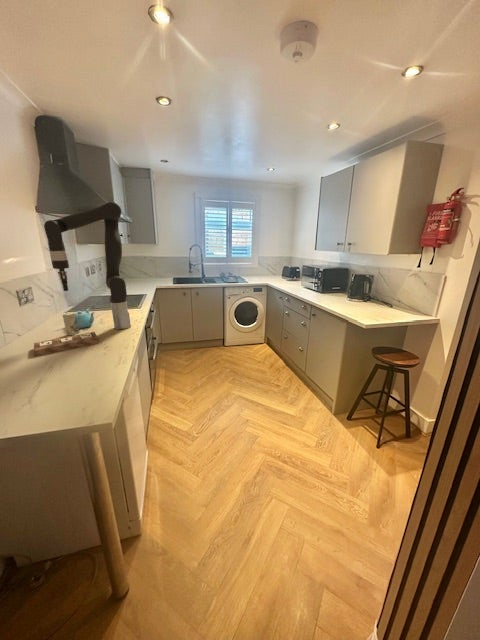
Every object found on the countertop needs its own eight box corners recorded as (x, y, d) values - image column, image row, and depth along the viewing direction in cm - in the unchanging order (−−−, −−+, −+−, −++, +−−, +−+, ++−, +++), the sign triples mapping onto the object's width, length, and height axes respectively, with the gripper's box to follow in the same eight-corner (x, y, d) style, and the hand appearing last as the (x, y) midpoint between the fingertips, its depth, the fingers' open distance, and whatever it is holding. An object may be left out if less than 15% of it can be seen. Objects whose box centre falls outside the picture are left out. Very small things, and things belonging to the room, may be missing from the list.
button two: (53, 346, 135) (51, 340, 134) (53, 349, 131) (51, 342, 130) (41, 348, 132) (39, 342, 131) (41, 352, 128) (39, 345, 127)
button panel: (95, 336, 149) (94, 331, 148) (98, 342, 140) (97, 337, 139) (35, 348, 133) (34, 343, 132) (35, 356, 124) (33, 350, 123)
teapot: (71, 331, 157) (68, 316, 154) (66, 326, 168) (63, 311, 164) (97, 326, 167) (94, 311, 164) (91, 321, 177) (88, 307, 174)
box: (72, 335, 150) (68, 315, 147) (66, 335, 151) (61, 314, 147) (79, 332, 155) (75, 312, 152) (73, 332, 156) (69, 312, 152)
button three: (91, 339, 145) (90, 332, 144) (92, 341, 141) (91, 335, 140) (81, 341, 142) (79, 334, 141) (82, 343, 138) (81, 337, 137)
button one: (72, 342, 140) (71, 336, 139) (73, 345, 136) (72, 339, 135) (62, 345, 137) (60, 338, 136) (62, 348, 133) (61, 341, 132)
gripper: (68, 259, 135) (75, 291, 141) (66, 258, 145) (72, 288, 151) (51, 260, 131) (58, 293, 136) (50, 259, 141) (57, 289, 146)
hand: (66, 290), depth 143 cm, fingers closed
